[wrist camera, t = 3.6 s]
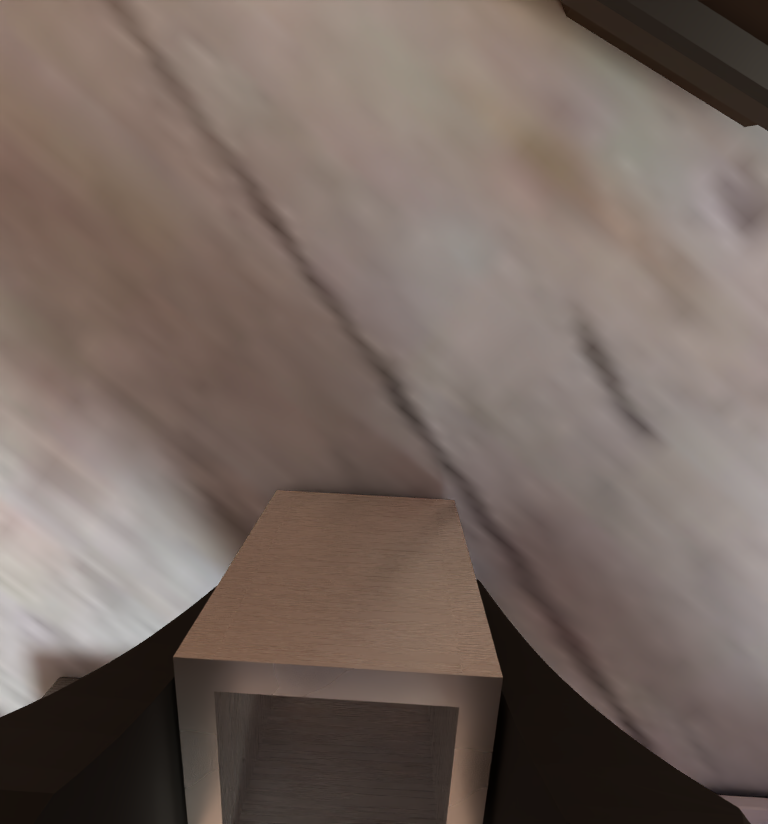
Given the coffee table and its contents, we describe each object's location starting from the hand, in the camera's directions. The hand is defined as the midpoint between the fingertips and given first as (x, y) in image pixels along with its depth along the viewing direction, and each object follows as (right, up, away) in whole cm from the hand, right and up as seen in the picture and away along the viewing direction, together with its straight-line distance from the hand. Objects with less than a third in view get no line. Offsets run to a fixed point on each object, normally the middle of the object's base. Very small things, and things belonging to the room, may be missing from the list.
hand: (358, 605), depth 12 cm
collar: (0, 0, +1) cm, 1 cm away
